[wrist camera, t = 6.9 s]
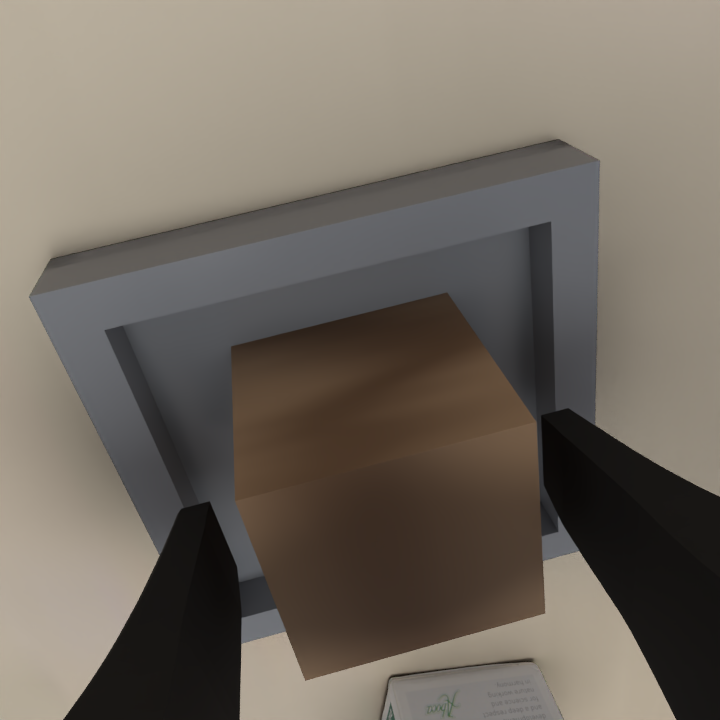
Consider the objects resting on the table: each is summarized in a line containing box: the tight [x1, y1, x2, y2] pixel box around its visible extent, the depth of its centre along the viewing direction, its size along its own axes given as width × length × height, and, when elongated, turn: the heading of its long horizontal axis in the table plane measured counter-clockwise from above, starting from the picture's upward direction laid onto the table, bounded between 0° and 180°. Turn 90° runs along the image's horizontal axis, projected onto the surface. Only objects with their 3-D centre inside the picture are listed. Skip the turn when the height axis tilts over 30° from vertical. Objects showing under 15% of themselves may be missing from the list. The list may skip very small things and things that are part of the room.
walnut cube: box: [231, 293, 545, 681], centre depth 14 cm, size 5×5×5 cm
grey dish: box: [29, 140, 600, 644], centre depth 16 cm, size 11×11×2 cm
